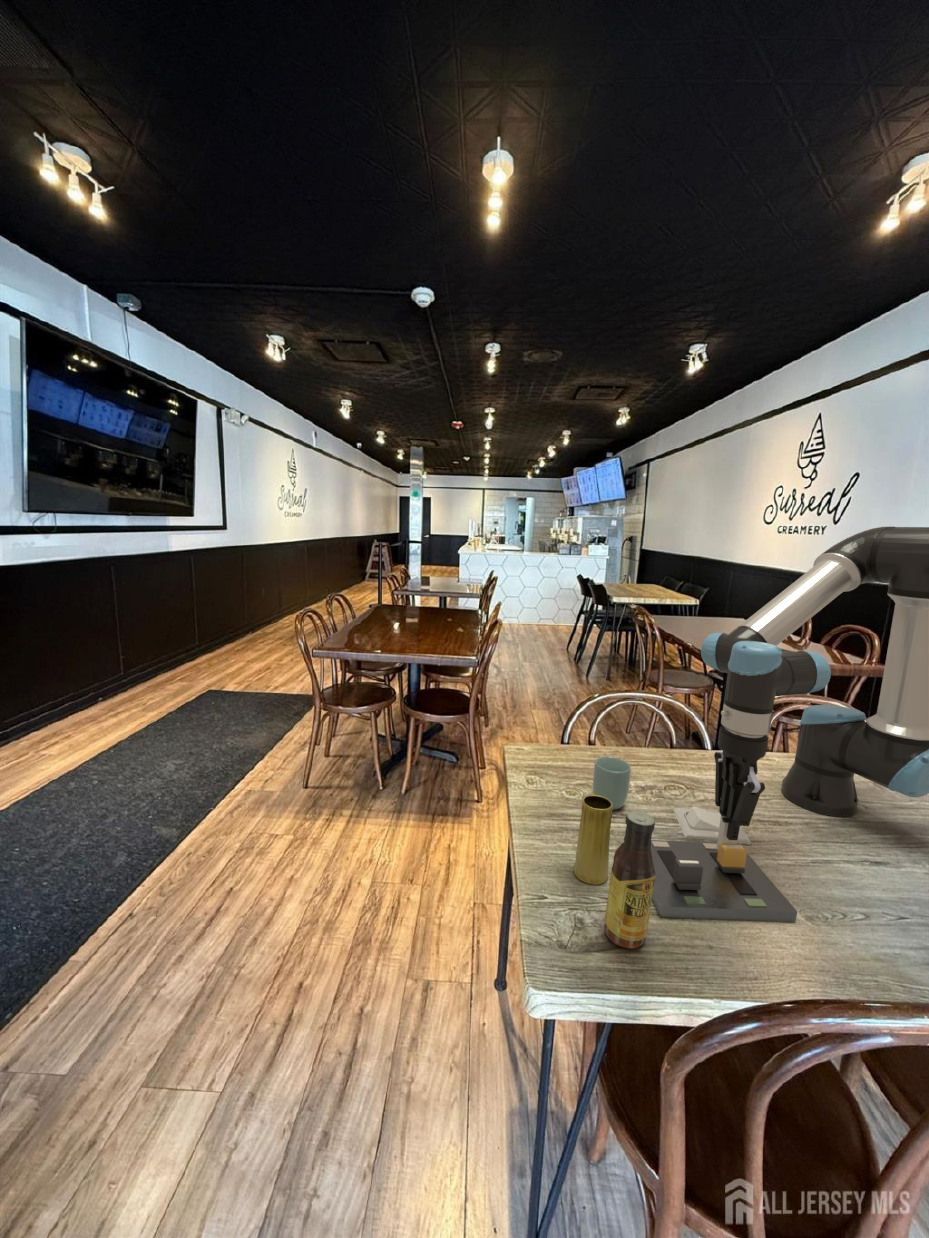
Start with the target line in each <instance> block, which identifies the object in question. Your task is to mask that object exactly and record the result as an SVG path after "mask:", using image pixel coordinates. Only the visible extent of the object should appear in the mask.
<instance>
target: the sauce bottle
mask: <svg viewBox="0 0 929 1238" xmlns="http://www.w3.org/2000/svg"><path fill="white" fill-rule="evenodd" d="M655 824H656V822H655V818H654V817H653V815H652V816H651V815H650V814H648V813H647V812H643V811H639V810H631V811H628V812H627V813H626V817H625V833H624V834H625V835H624V837H623V842H622V843H621V844H620V845H619V846H618V847H617V848H616V849H615V852H614V854H613V855H614V856H613V862H612V867H611V872H610V876H609V879H610V880H609V887H608V892H607V899H606V909H605V916H604V922H605V923H604V931H605V934H606V936H607V938H608V939H609V940H610V941H611V942H612V943H613V944H614V945H616V946H618V947H621V948H624V949H629V950H631V949H638V948H640V947H641V946H642V945H643V944H644V942H645V940H646V937H647V933H648V928H649V922H650V915H651V906H652V902H653V901H652V895H653V888H654V881H655V869H654V864H653V859H652V854H651V840H652V836H653V832H654V830H655Z"/></svg>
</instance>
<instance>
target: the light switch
mask: <svg viewBox="0 0 929 1238" xmlns="http://www.w3.org/2000/svg"><path fill="white" fill-rule="evenodd" d="M673 812H674V815H675V817H676V820H677V822H678V824H679V827H680V828H681V831H682V834H683V835H684V838H691V839H700V840H706V841H712V842H717V841H718V834H719V828H720V820H721V814H720V812H719V810H715V809H703V808H700V807H698V806H692V807H691V808H688V807H687V808H686V807H685V808H684V807H675V808H673ZM738 834H739V835H738V839H737V843H739V844H741V845H748V846H749V845H750V846H751V843H752V841H751V840H750V838H749V837H748V835H747V832H745V830H744V828H743V826H740V828H739V833H738Z"/></svg>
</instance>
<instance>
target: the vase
mask: <svg viewBox="0 0 929 1238" xmlns="http://www.w3.org/2000/svg"><path fill="white" fill-rule="evenodd" d="M581 803H582V805H581V812H580V813H581V814H580V821H579V828H578V837H577V845H576V852H575V861H574V865H573V874H574V875H575V877H576V878H577V879H578V880H579V881H581V882H583V883H586V884H588V885H602V884H605V883H606V882H607V881H608V878H609V875H608V874H609V858H610V855H609V854H610V852H609V851H610V840H611V825H612V817H613V811H614V810H613V804H612V802H611V801H610V800H609V799H608V798H606V797H603V796H600V795H593V794H587V795H584V796H583V797H582V802H581Z"/></svg>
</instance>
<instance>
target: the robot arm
mask: <svg viewBox="0 0 929 1238" xmlns="http://www.w3.org/2000/svg"><path fill="white" fill-rule="evenodd" d="M867 583H879V584H888V586H887V587H888V588H887V596H888V597H890V599H891V600H893V602H894V603H895V605H894V609H893V615H892V622H891V627H890V633H889V634H890V635H889V639H888V646H887V653H886V657H885V658H886V659H885V662H884V663H885V664H884V669H883V674H882V682H881V687H880V694H879V699H878V705H877V710H876V713H875V714H874V715H872V716H869V717H866V714H865V712H863V711H861V710H859V709H856V708H852V707H847V706H839V705H831V704H815V705H810V706H808V707H806V708H805V709H804V710H803V712H802V716H801V719H800V722H799V724H800V725H799V732H798V737H797V744H796V749H795V750H796V751H795V756H794V762H793V763H792V765H791V766H790V768H789V771H788V772H787V774H786V775H785V777H784V778H783V779H782V781H781V786H780V787H781V788H780V790H781V793H782V795H783V796H784V797H785V798H786V799H787V800H788V801H790V802H792V803H793V804H795V805H797V806H800V807H801V808H804V809H806V810H809V811H812V812H814V813H818V814H822V815H826V816H831V817H839V818H841V817H842V818H844V817H845V818H846V817H851V816H855V815H856V814H857V812H858V809H859V807H858V806H859V799H858V794H857V787H856V783H855V779H854V776H855V775H858V776H859V777H862V778H864V779H865V780H868V781H870V782H873V783H875V784H878V785H879V786H882V787H884V788H886V789H888V790H890V791H891V792H896V793H899V794H902V795H904V796H907V797H910V798H921V797H925V796H926V795H928V794H929V526H926V527H925V526H918V527H917V526H879V527H873V528H869V529H866V530H864V531H861V532H858V533H855V534H853V535H851V536H848V537H846V538H845V539H842V540H841V541H839V542H837V543H836V544H834V545H832V546H830V547H829V548H828V549H826V550H825V551H823V553H821V554H820V555H819V556H817V557H816V558H815V559H814V561H813V566H812V567H811V568H809V570H808V571H806V572H805V573H804V574H803V575H801V576H799V578H798V579H796V580H795V581H793V582H792V583H791V584H790V585H788V587H786V588H785V589H784V590H783V591H781V592H780V593H779V594H778V595H776V596H775V597H774V598H771V600H770V601H768V602H767V603H766V604H765V605H763V606H762V607H761V608H760V609H759V610H757V611H756V612H755V613H753V614H752V615H751V616H750V617H748V618H747V619H746V620H745V621H743V622H742V623H741V624H740V625H738V626H737V627H736V628H735V629H733V630H732V631H731V632H730V633H726V632H714V633H710V634H709V635H708V636H707V637H705V639H704V640H703V642H702V645H701V647H700V648H701V649H700V655H701V658H702V661H703V663H704V664H705V665H706V666H708V667H710V668H712V669H715V670H717V671H719V672H721V673H725V674H727V677H726V684H725V685H726V686H725V692H724V694H725V695H724V698H723V706H722V710H721V711H720V715H721V720H720V724H721V726H720V727H719V732H718V737H717V738H718V740H717V745H718V748H719V749H720V750H721V751H719V752H718V751H715V752H714V754H713V756H714V762H715V781H714V782H715V783H714V784H715V787H714V788H715V789H714V790H715V792H714V794H715V795H714V796H715V797H714V804H715V806H716V807H718V808H719V809H718V811H719V812H720V814H721V820H720V828H719V834H718V841H716V843H717V848H716V849H717V850H718V848H719V844H737V839H738V835H739V834H738V833H739V828H740V826H741V827H749V826H750V823H751V821H752V818H753V816H754V813H755V810H756V807H757V804H758V802H759V799H760V796H761V794H762V793H763V792H764V791H765V789H766V785H765V783H764V782H762V781H761V782H759V780H758V778H757V775H758V761H759V760H761V759H763V758H764V757H765V756H766V755H767V749H768V748H767V747H768V743H769V737H768V734H770V733H771V732H770V731H771V725H772V719H773V718H772V717H773V710H774V703H775V699H776V697H781V696H791V695H792V696H793V695H808V694H810V693H814V692H815V693H816V692H819V691H821V690H823V689H825V688H826V687H827V686H828V685H829V683H830V681H831V680H830V679H831V676H832V675H831V673H832V671H831V666H830V664H829V662H828V661H827V659H826V658H825V657H824V656H823V655H821V654H820V653H818V652H815V651H807V650H797V651H795V650H793V651H792V650H789V649H784V648H781V647H779V646H778V645H780V644H781V643H782V642H784V641H785V640H786V639H787V638H788V637H789V636H791V635H792V634H793V633H794V632H795V631H797V630H798V629H800V628H801V627H802V626H803V625H804V624H805V623H807V621H809V620H810V619H811V618H813V617H814V616H815V615H816V614H818V613H819V612H821V610H823V608H825V607H826V606H827V605H829V604H830V603H831V602H832V601H833V600H835V599H836V598H837V597H838V596H840V595H841V594H842V593H843V592H852V591H853V590H855V589H857V588H858V587H859V586H861V585H862V584H867Z"/></svg>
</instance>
